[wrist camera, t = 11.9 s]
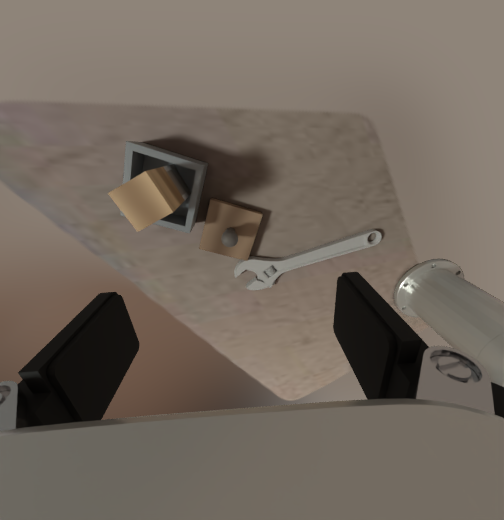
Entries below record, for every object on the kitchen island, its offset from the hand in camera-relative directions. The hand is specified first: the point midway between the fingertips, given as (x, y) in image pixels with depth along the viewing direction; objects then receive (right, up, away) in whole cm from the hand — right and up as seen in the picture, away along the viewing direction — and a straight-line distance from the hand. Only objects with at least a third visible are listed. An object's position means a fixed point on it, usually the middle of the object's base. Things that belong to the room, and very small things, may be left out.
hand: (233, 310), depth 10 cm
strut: (-11, +13, +23) cm, 28 cm away
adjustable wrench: (+10, +2, +31) cm, 33 cm away
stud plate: (-3, +7, +27) cm, 28 cm away
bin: (-11, +13, +24) cm, 29 cm away
